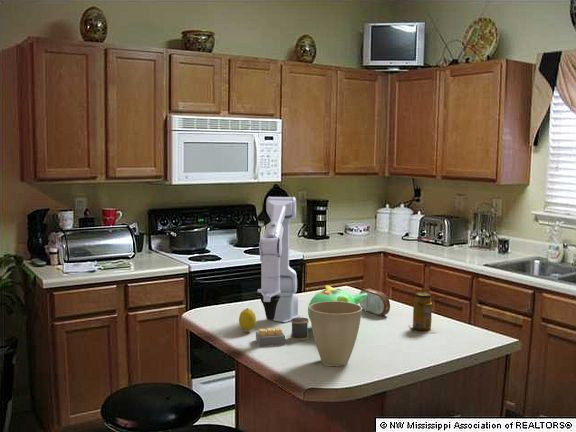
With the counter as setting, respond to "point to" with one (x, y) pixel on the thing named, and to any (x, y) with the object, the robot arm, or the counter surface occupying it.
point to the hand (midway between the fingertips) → (270, 319)
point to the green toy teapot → (336, 297)
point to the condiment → (422, 313)
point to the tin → (375, 302)
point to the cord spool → (299, 328)
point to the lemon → (247, 320)
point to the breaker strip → (270, 337)
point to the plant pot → (335, 330)
